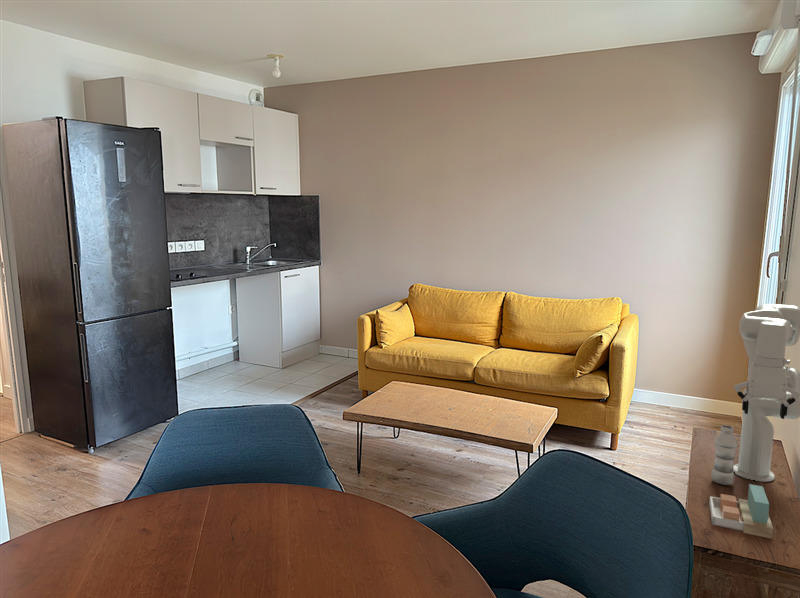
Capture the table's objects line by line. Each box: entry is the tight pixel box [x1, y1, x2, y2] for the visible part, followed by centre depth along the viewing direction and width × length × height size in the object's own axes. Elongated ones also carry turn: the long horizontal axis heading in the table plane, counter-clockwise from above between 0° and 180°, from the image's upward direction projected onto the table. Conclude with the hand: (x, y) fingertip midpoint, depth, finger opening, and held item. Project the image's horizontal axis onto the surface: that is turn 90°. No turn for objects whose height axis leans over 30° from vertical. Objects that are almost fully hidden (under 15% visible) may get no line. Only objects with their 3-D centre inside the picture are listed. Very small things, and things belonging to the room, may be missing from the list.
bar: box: [747, 483, 770, 524], centre depth 168 cm, size 12×4×6 cm, turn 155°
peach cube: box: [722, 505, 740, 521], centre depth 167 cm, size 4×4×4 cm
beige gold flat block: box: [737, 498, 774, 539], centre depth 168 cm, size 16×7×3 cm, turn 155°
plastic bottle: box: [711, 424, 739, 486], centre depth 192 cm, size 6×7×20 cm
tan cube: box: [719, 493, 738, 512], centre depth 174 cm, size 4×4×4 cm
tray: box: [708, 495, 744, 532], centre depth 171 cm, size 14×8×2 cm, turn 155°
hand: (763, 415), depth 178 cm, fingers open, 9 cm apart
